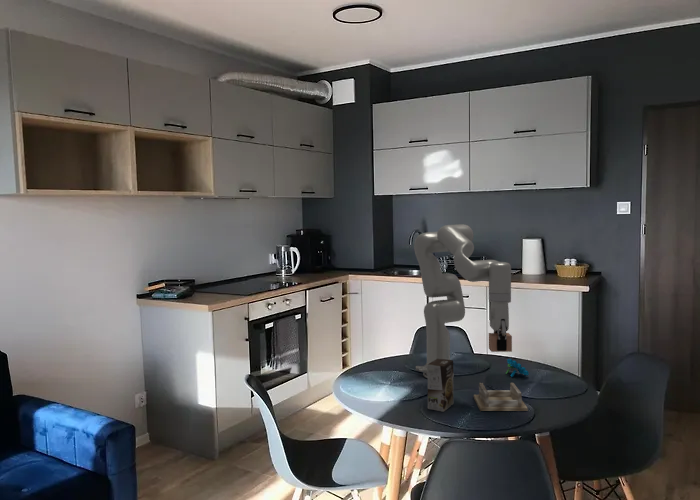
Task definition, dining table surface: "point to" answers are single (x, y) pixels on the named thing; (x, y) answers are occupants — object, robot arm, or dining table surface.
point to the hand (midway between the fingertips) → (499, 348)
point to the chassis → (500, 399)
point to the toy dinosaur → (516, 368)
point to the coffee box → (440, 384)
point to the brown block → (493, 342)
